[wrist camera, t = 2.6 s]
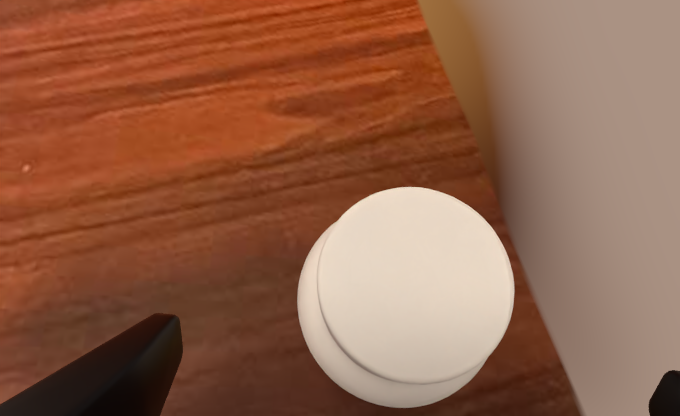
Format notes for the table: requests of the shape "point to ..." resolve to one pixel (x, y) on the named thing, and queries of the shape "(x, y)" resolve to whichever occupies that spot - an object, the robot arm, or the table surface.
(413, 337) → the supplement bottle
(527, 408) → the table surface
